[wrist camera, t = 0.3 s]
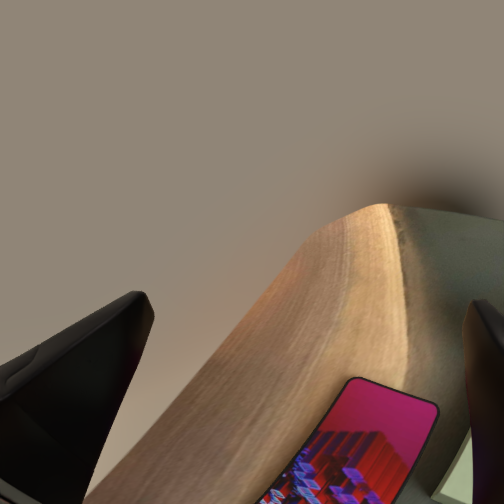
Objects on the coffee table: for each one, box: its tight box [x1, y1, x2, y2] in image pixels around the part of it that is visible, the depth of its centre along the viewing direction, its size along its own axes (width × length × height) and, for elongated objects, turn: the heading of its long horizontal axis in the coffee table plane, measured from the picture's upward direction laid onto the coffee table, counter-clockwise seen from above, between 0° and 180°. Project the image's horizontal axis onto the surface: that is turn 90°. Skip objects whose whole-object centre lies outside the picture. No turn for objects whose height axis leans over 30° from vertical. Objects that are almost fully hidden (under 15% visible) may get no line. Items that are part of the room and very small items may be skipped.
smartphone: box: [254, 377, 440, 504], centre depth 15 cm, size 8×1×15 cm
